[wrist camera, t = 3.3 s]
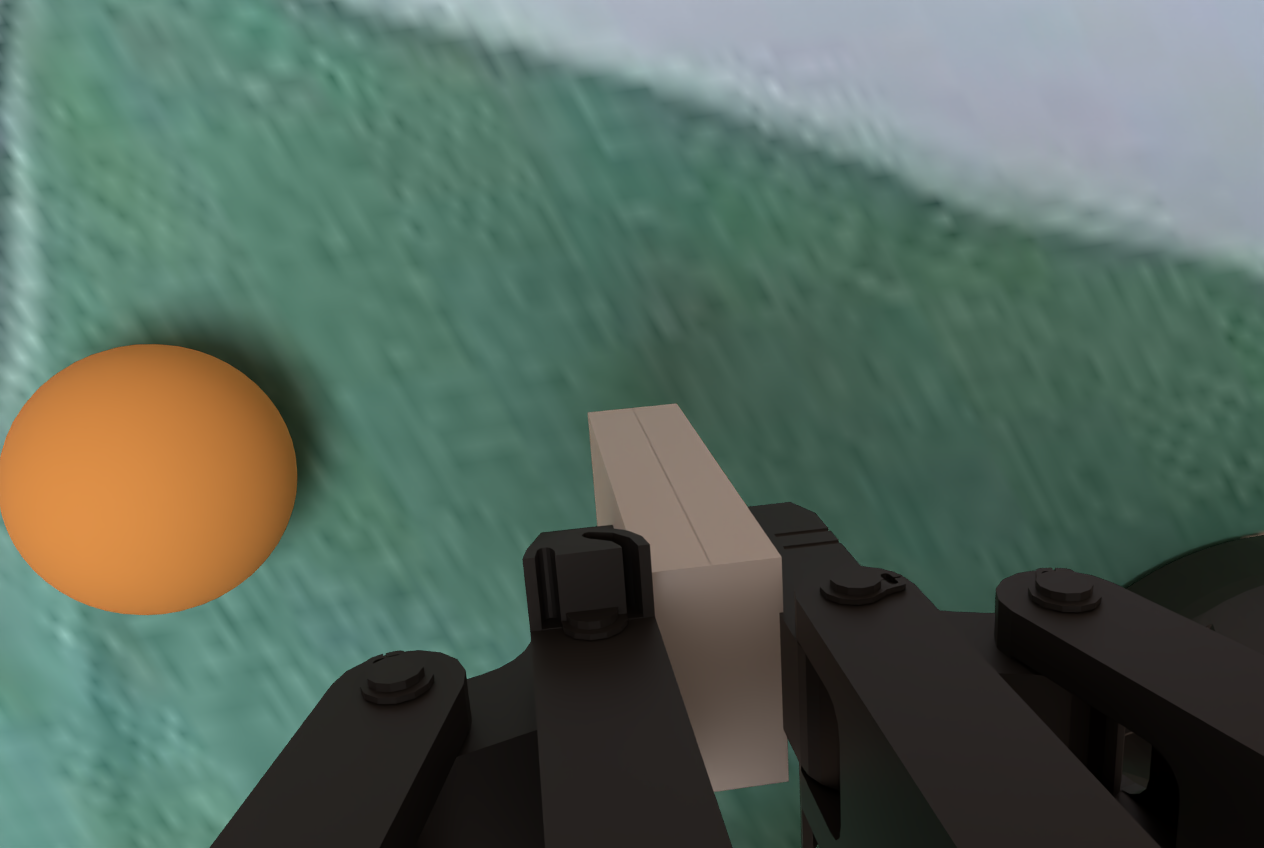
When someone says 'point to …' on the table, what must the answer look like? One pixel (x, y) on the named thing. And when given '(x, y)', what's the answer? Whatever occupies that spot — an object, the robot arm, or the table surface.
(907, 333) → the table surface
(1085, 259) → the table surface
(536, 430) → the table surface
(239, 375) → the ball
